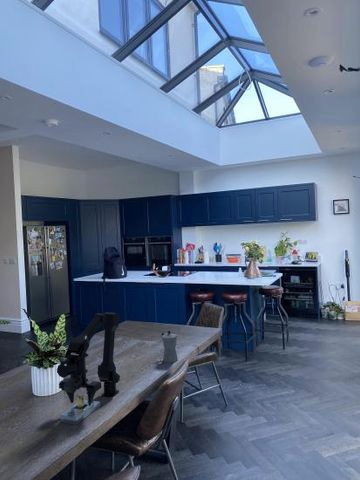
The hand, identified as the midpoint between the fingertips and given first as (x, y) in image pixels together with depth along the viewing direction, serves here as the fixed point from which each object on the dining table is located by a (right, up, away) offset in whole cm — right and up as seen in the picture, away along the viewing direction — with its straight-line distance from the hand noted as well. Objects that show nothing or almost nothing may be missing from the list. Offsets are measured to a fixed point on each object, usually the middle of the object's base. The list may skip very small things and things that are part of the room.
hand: (80, 404), depth 165 cm
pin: (0, -4, 0) cm, 4 cm away
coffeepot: (+37, -1, +64) cm, 74 cm away
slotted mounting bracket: (0, -4, 0) cm, 4 cm away
